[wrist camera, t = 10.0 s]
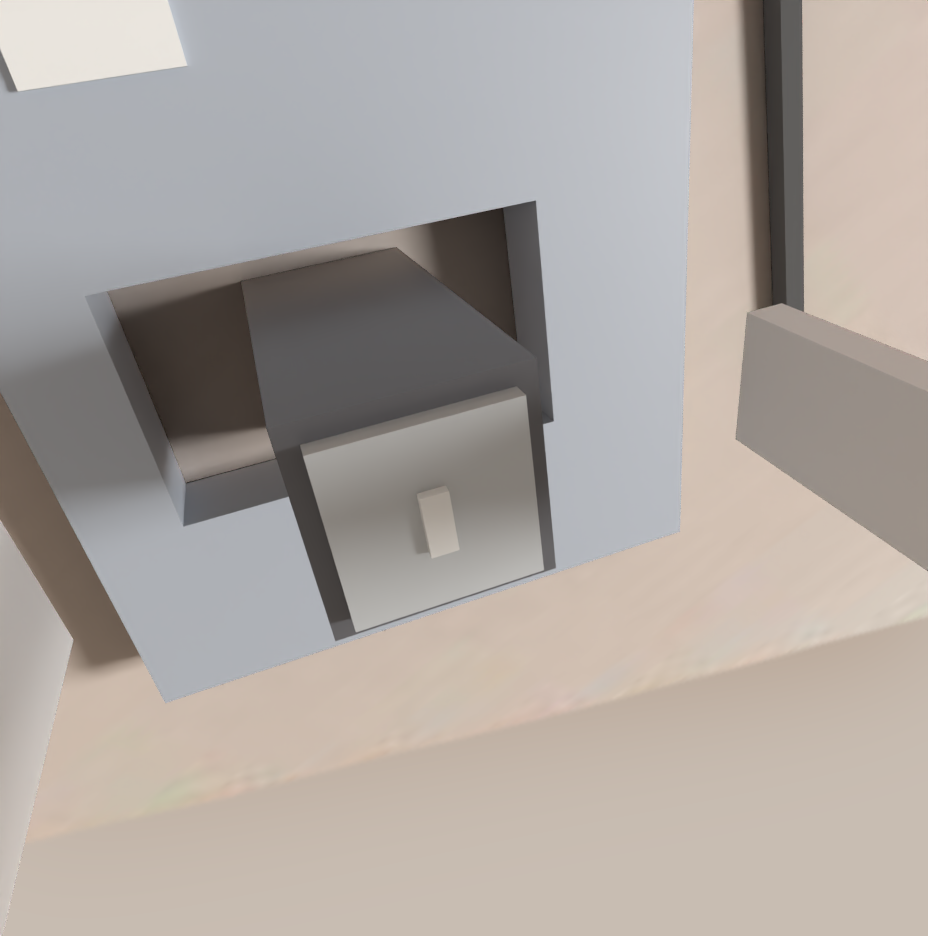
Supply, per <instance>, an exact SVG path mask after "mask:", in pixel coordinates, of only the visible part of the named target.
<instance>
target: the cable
mask: <svg viewBox="0 0 928 936" xmlns="http://www.w3.org/2000/svg"><path fill="white" fill-rule="evenodd" d="M763 4H764V36H765V67H766V99H767V131H768V163H769V194H770V226H771V258H772V289H773V305H777V304H781V303H782V304H785V305H787V306H790V307H792V308H795V309H797V310H800V311H802V312H804V254H803V85H802V0H763Z"/></svg>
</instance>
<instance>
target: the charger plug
mask: <svg viewBox="0 0 928 936" xmlns="http://www.w3.org/2000/svg"><path fill="white" fill-rule="evenodd" d="M241 284H242V290H243V296H244V302H245V307H246V313H247V319H248V325H249V330H250V336H251V342H252V348H253V353H254V359H255V365H256V371H257V376H258V382H259V388H260V394H261V399H262V405H263V411H264V417H265V422H266V428H267V432H268V435H269V438H270V441H271V444H272V447H273V450H274V453H275V456H276V459H277V462H278V466H279V469H280V472H281V475H282V478H283V481H284V484H285V487H286V490H287V493H288V496H289V500H290V503H291V506H292V509H293V512H294V515H295V518H296V521H297V524H298V527H299V530H300V534H301V537H302V540H303V543H304V546H305V549H306V552H307V555H308V558H309V561H310V564H311V568H312V571H313V574H314V577H315V580H316V583H317V586H318V589H319V592H320V595H321V598H322V601H323V605H324V608H325V611H326V614H327V617H328V620H329V623H330V626H331V629H332V632H333V635H334V639H335V641H338V640H341V639H344V638H347V637H350V636H353V635H356V634H359V633H362V632H365V631H368V630H371V629H374V628H377V627H380V626H383V625H386V624H389V623H392V622H395V621H398V620H401V619H404V618H407V617H410V616H413V615H416V614H419V613H422V612H425V611H428V610H431V609H434V608H437V607H440V606H443V605H446V604H449V603H452V602H455V601H458V600H461V599H464V598H467V597H470V596H473V595H476V594H479V593H482V592H485V591H488V590H491V589H494V588H497V587H500V586H504V585H507V584H510V583H513V582H516V581H519V580H522V579H525V578H528V577H531V576H534V575H537V574H540V573H543V572H546V571H549V570H552V569H555V568H556V562H555V551H554V540H553V529H552V518H551V507H550V496H549V485H548V474H547V463H546V452H545V441H544V430H543V419H542V408H541V397H540V386H539V375H538V364H537V357H535V356H534V355H533V354H532V353H530V352H529V351H528V350H526V349H525V348H524V347H523V346H521V345H520V344H519V343H518V342H516V341H515V340H514V339H512V338H511V337H510V336H509V335H507V334H506V333H505V332H504V331H502V330H501V329H500V328H498V327H497V326H496V325H495V324H493V323H492V322H491V321H490V320H488V319H487V318H486V317H484V316H483V315H482V314H481V313H479V312H478V311H477V310H476V309H474V308H473V307H472V306H470V305H469V304H468V303H467V302H465V301H464V300H463V299H462V298H460V297H459V296H458V295H456V294H455V293H454V292H453V291H451V290H450V289H449V288H448V287H446V286H445V285H444V284H442V283H441V282H440V281H439V280H437V279H436V278H435V277H434V276H432V275H431V274H430V273H428V272H427V271H426V270H425V269H423V268H422V267H421V266H420V265H418V264H417V263H416V262H415V261H413V260H412V259H411V258H409V257H408V256H407V255H406V254H404V253H403V252H402V251H401V250H399V249H398V248H397V247H396V248H391V249H386V250H382V251H377V252H373V253H368V254H363V255H359V256H354V257H350V258H345V259H340V260H336V261H331V262H327V263H322V264H318V265H313V266H308V267H304V268H299V269H295V270H290V271H285V272H281V273H276V274H272V275H267V276H262V277H258V278H253V279H249V280H244V281H241Z"/></svg>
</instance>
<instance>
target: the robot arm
mask: <svg viewBox="0 0 928 936" xmlns="http://www.w3.org/2000/svg"><path fill="white" fill-rule="evenodd" d="M736 440H738V441H739V442H741V443H742V444H744V445H745V446H747V447H748V448H749V449H751V450H752V451H754V452H755V453H757V454H758V455H760V456H761V457H763V458H764V459H765V460H767V461H768V462H770V463H771V464H773V465H774V466H776V467H777V468H779V469H780V470H781V471H783V472H784V473H786V474H787V475H789V476H790V477H792V478H793V479H795V480H796V481H797V482H799V483H800V484H802V485H803V486H805V487H806V488H808V489H809V490H811V491H812V492H813V493H815V494H816V495H818V496H819V497H821V498H822V499H824V500H825V501H827V502H828V503H829V504H831V505H832V506H834V507H835V508H837V509H838V510H840V511H841V512H842V513H844V514H845V515H847V516H848V517H850V518H851V519H853V520H854V521H856V522H857V523H858V524H860V525H861V526H863V527H864V528H866V529H867V530H869V531H870V532H872V533H873V534H874V535H876V536H877V537H879V538H880V539H882V540H883V541H885V542H886V543H888V544H889V545H890V546H892V547H893V548H895V549H896V550H898V551H899V552H901V553H902V554H904V555H905V556H906V557H908V558H909V559H911V560H912V561H914V562H915V563H917V564H918V565H920V566H921V567H922V568H924V569H925V570H927V571H928V361H926V360H924V359H921V358H919V357H916V356H914V355H911V354H908V353H906V352H903V351H901V350H898V349H896V348H893V347H891V346H888V345H886V344H883V343H881V342H878V341H876V340H873V339H871V338H868V337H866V336H863V335H861V334H858V333H855V332H853V331H850V330H848V329H845V328H843V327H840V326H838V325H835V324H833V323H830V322H828V321H825V320H823V319H820V318H818V317H815V316H813V315H810V314H807V313H805V312H802V311H800V310H797V309H795V308H792V307H790V306H787V305H785V304H782V303H781V304H777V305H773V306H770V307H766V308H762V309H758V310H754V311H751V312H747V318H746V329H745V341H744V352H743V363H742V374H741V385H740V396H739V407H738V418H737V429H736ZM72 644H73V638H72V636H71V635H70V633H69V631H68V630H67V628H66V627H65V625H64V623H63V622H62V620H61V618H60V617H59V615H58V613H57V612H56V610H55V609H54V607H53V605H52V604H51V602H50V600H49V599H48V597H47V595H46V594H45V592H44V590H43V589H42V587H41V586H40V584H39V582H38V581H37V579H36V577H35V576H34V574H33V572H32V571H31V569H30V568H29V566H28V564H27V563H26V561H25V559H24V558H23V556H22V554H21V553H20V551H19V549H18V548H17V546H16V545H15V543H14V541H13V540H12V538H11V536H10V535H9V533H8V531H7V530H6V528H5V527H4V525H3V523H2V522H1V520H0V936H3V931H4V927H5V923H6V919H7V915H8V910H9V906H10V902H11V898H12V894H13V889H14V886H15V881H16V877H17V873H18V869H19V865H20V861H21V857H22V852H23V848H24V844H25V840H26V836H27V832H28V827H29V823H30V819H31V815H32V811H33V807H34V802H35V798H36V794H37V790H38V786H39V782H40V777H41V773H42V769H43V765H44V761H45V756H46V752H47V748H48V744H49V740H50V736H51V731H52V727H53V723H54V719H55V715H56V711H57V706H58V702H59V698H60V694H61V690H62V686H63V681H64V677H65V673H66V669H67V665H68V661H69V656H70V652H71V648H72Z"/></svg>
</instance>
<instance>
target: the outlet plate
mask: <svg viewBox="0 0 928 936" xmlns="http://www.w3.org/2000/svg"><path fill="white" fill-rule="evenodd" d="M693 11H694V0H0V393H1V394H2V396H3V398H4V400H5V402H6V404H7V406H8V408H9V409H10V411H11V413H12V415H13V417H14V419H15V421H16V423H17V425H18V426H19V428H20V430H21V432H22V434H23V436H24V438H25V440H26V441H27V443H28V445H29V447H30V449H31V451H32V453H33V455H34V457H35V458H36V460H37V462H38V464H39V466H40V468H41V470H42V472H43V474H44V475H45V477H46V479H47V481H48V483H49V485H50V487H51V489H52V490H53V492H54V494H55V496H56V498H57V500H58V502H59V504H60V506H61V507H62V509H63V511H64V513H65V515H66V517H67V519H68V521H69V522H70V524H71V526H72V528H73V530H74V532H75V534H76V536H77V538H78V539H79V541H80V543H81V545H82V547H83V549H84V551H85V553H86V555H87V556H88V558H89V560H90V562H91V564H92V566H93V568H94V570H95V571H96V573H97V575H98V577H99V579H100V581H101V583H102V585H103V587H104V588H105V590H106V592H107V594H108V596H109V598H110V600H111V602H112V603H113V605H114V607H115V609H116V611H117V613H118V615H119V617H120V619H121V620H122V622H123V624H124V626H125V628H126V630H127V632H128V634H129V635H130V637H131V639H132V641H133V643H134V645H135V647H136V649H137V651H138V652H139V654H140V656H141V658H142V660H143V662H144V664H145V666H146V668H147V669H148V671H149V673H150V675H151V677H152V679H153V681H154V683H155V684H156V686H157V688H158V690H159V692H160V694H161V696H162V698H163V700H164V701H165V703H167V702H170V701H173V700H176V699H179V698H182V697H185V696H188V695H191V694H194V693H197V692H200V691H203V690H206V689H209V688H212V687H215V686H218V685H221V684H224V683H227V682H230V681H233V680H236V679H239V678H242V677H245V676H248V675H251V674H254V673H257V672H260V671H263V670H266V669H269V668H272V667H275V666H278V665H281V664H284V663H287V662H290V661H293V660H296V659H299V658H302V657H305V656H308V655H311V654H314V653H317V652H320V651H323V650H326V649H329V648H332V647H335V646H338V645H341V644H344V643H347V642H350V641H353V640H356V639H359V638H362V637H365V636H368V635H371V634H374V633H377V632H380V631H383V630H386V629H389V628H392V627H395V626H398V625H401V624H404V623H407V622H410V621H413V620H416V619H419V618H422V617H425V616H428V615H431V614H434V613H437V612H440V611H443V610H446V609H449V608H452V607H455V606H458V605H461V604H464V603H467V602H470V601H473V600H476V599H479V598H482V597H485V596H488V595H491V594H494V593H497V592H500V591H503V590H506V589H509V588H512V587H515V586H518V585H521V584H524V583H527V582H530V581H533V580H536V579H539V578H542V577H545V576H548V575H551V574H554V573H557V572H560V571H563V570H566V569H569V568H572V567H575V566H578V565H581V564H584V563H587V562H590V561H593V560H596V559H599V558H602V557H605V556H608V555H611V554H614V553H617V552H620V551H623V550H626V549H629V548H632V547H635V546H638V545H641V544H644V543H647V542H650V541H653V540H656V539H659V538H662V537H665V536H668V535H671V534H674V533H677V532H680V509H681V471H682V433H683V394H684V356H685V318H686V280H687V241H688V203H689V165H690V126H691V88H692V50H693ZM502 207H503V211H504V221H505V230H506V240H507V249H508V259H509V268H510V278H511V287H512V297H513V306H514V316H515V325H516V335H517V342H518V343H519V344H520V345H521V346H523V347H524V348H525V349H526V350H528V351H529V352H530V353H532V354H533V355H534V356H535V357H537V364H538V375H539V386H540V397H541V408H542V419H543V430H544V441H545V452H546V463H547V474H548V485H549V496H550V507H551V518H552V529H553V540H554V551H555V562H556V568H555V569H552V570H549V571H546V572H543V573H540V574H537V575H534V576H531V577H528V578H525V579H522V580H519V581H516V582H513V583H510V584H507V585H504V586H500V587H497V588H494V589H491V590H488V591H485V592H482V593H479V594H476V595H473V596H470V597H467V598H464V599H461V600H458V601H455V602H452V603H449V604H446V605H443V606H440V607H437V608H434V609H431V610H428V611H425V612H422V613H419V614H416V615H413V616H410V617H407V618H404V619H401V620H398V621H395V622H392V623H389V624H386V625H383V626H380V627H377V628H374V629H371V630H368V631H365V632H362V633H359V634H356V635H353V636H350V637H347V638H344V639H341V640H338V641H335V639H334V635H333V632H332V629H331V626H330V623H329V620H328V617H327V614H326V611H325V608H324V605H323V601H322V598H321V595H320V592H319V589H318V586H317V583H316V580H315V577H314V574H313V571H312V568H311V564H310V561H309V558H308V555H307V552H306V549H305V546H304V543H303V540H302V537H301V534H300V530H299V527H298V524H297V521H296V518H295V515H294V512H293V509H292V506H291V503H290V500H289V496H288V493H287V490H286V487H285V484H284V481H283V478H282V475H281V472H280V469H279V466H278V462H277V459H275V460H271V461H267V462H264V463H260V464H256V465H253V466H249V467H245V468H242V469H238V470H234V471H230V472H227V473H223V474H219V475H216V476H212V477H208V478H205V479H201V480H197V481H194V482H190V483H186V482H185V480H184V478H183V475H182V473H181V470H180V468H179V465H178V463H177V460H176V458H175V456H174V453H173V451H172V448H171V446H170V443H169V441H168V439H167V436H166V434H165V431H164V429H163V426H162V424H161V421H160V419H159V417H158V414H157V412H156V409H155V407H154V404H153V402H152V400H151V397H150V395H149V392H148V390H147V387H146V385H145V382H144V380H143V378H142V375H141V373H140V370H139V368H138V365H137V363H136V361H135V358H134V356H133V353H132V351H131V348H130V346H129V343H128V341H127V339H126V336H125V334H124V331H123V329H122V326H121V324H120V322H119V319H118V317H117V314H116V312H115V309H114V307H113V304H112V302H111V300H110V297H109V295H108V292H107V291H111V290H115V289H120V288H125V287H130V286H134V285H139V284H144V283H148V282H153V281H158V280H163V279H167V278H172V277H177V276H181V275H186V274H191V273H196V272H200V271H205V270H210V269H214V268H219V267H224V266H229V265H233V264H238V263H243V262H247V261H252V260H257V259H262V258H266V257H271V256H276V255H280V254H285V253H290V252H295V251H299V250H304V249H309V248H313V247H318V246H323V245H328V244H332V243H337V242H342V241H346V240H351V239H356V238H361V237H365V236H370V235H375V234H380V233H384V232H389V231H394V230H398V229H403V228H408V227H413V226H417V225H422V224H427V223H431V222H436V221H441V220H446V219H450V218H455V217H460V216H464V215H469V214H474V213H479V212H483V211H488V210H493V209H497V208H502Z"/></svg>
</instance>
